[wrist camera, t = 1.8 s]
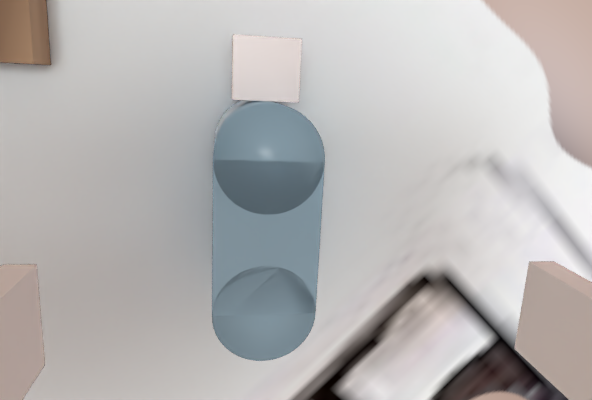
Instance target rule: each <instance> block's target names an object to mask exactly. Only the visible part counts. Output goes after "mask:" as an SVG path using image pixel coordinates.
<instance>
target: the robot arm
mask: <svg viewBox="0 0 592 400" xmlns="http://www.w3.org/2000/svg"><path fill="white" fill-rule="evenodd" d="M515 350H516V351H517V352H518V353H519V354H521V355H522V356H523V357H524V358H525V359H526V360H527V361H528V362H529V363H530V364H531V365H532V366H533V367H535V368H536V369H537V370H538V371H539V372H540V373H541V374H542V375H543V376H544V377H545V378H546V379H547V380H549V381H550V382H551V383H552V384H553V385H554V386H555V387H556V388H557V389H558V390H559V391H560V392H561V393H562V394H564V395H565V396H566V397H567V398H568V399H569V400H592V282H590V281H588V280H587V279H585V278H583V277H581V276H579V275H578V274H576V273H574V272H572V271H570V270H568V269H567V268H565V267H563V266H561V265H559V264H558V263H556V262H554V261H539V262H529V266H528V271H527V277H526V283H525V289H524V295H523V301H522V307H521V313H520V319H519V325H518V331H517V337H516V343H515ZM44 366H45V357H44V345H43V333H42V321H41V309H40V297H39V285H38V273H37V264H20V265H2V266H1V267H0V400H23V398H24V397H25V395H26V394H27V392H28V390H29V389H30V387H31V386H32V384H33V383H34V381H35V380H36V378H37V376H38V375H39V373H40V372H41V370H42V369H43V367H44Z"/></svg>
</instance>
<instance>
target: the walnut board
mask: <svg viewBox="0 0 592 400" xmlns="http://www.w3.org/2000/svg"><path fill="white" fill-rule="evenodd" d="M0 62H2V63H22V64H42V65H51V62H50V47H49V33H48V19H47V5H46V0H0Z"/></svg>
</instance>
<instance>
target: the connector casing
mask: <svg viewBox="0 0 592 400" xmlns="http://www.w3.org/2000/svg"><path fill="white" fill-rule="evenodd" d="M301 46H302V39H298V38H282V37H266V36H250V35H233V38H232V100H241V101H239V102H237V103H235V104H234V105H232V106H231V107H230V108H228V109H227V110H226V112H225V113H224V114H223V115H222V117H221V118H220V120H219V122H218V125H217V128H216V132H215V142H214V154H213V251H212V322H213V327H214V330H215V333H216V335H217V337H218V339H219V340H220V342H221V343H222V344H223V345H224V346H225V347H226V348H227V349H228V350H229V351H231V352H232V353H234V354H236V355H237V356H240V357H242V358H245V359H249V360H256V361H265V360H272V359H276V358H279V357H282V356H284V355H286V354H288V353H290V352H292V351H293V350H295V349H296V348H297V347H298V346H299V345H300V344H301V343H302V342H303V341H304V340H305V339H306V337H307V336H308V334H309V333H310V331H311V329H312V326H313V323H314V319H315V311H316V295H317V279H318V262H319V246H320V230H321V214H322V198H323V181H324V165H325V154H324V147H323V143H322V140H321V138H320V135H319V133H318V132H317V130H316V128H315V127H314V126H313V124H312V123H311V122H310V121H309V120H308V119H307V118H306V117H305V116H303V115H302V114H301V113H299V112H297V111H296V110H294V109H292V108H289V107H287V106H284V105H282V104H280V103H277V102H299V88H300V67H301Z"/></svg>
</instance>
